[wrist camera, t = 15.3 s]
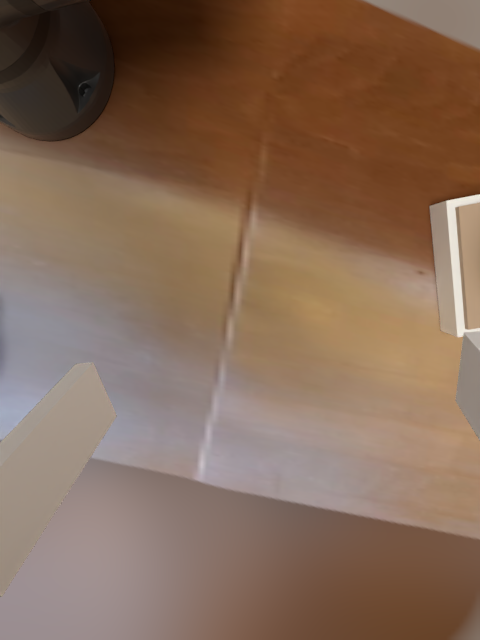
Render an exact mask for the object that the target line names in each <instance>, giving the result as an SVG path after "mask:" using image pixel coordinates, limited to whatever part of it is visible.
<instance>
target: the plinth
mask: <svg viewBox="0 0 480 640" xmlns="http://www.w3.org/2000/svg"><path fill="white" fill-rule="evenodd" d="M429 207H430V218H431V229H432V240H433V251H434V262H435V273H436V284H437V295H438V306H439V317H440V328H441V331H443V332H445V333H448V334H451V335H453V336H456V337H462V336H463V335H464V332H476V331H480V194H479V195H474V196H469V197H463V198H458V199H453V200H448V201H444V202H441V203H438V204H434V205H431V206H429Z"/></svg>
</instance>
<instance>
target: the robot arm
mask: <svg viewBox="0 0 480 640" xmlns="http://www.w3.org/2000/svg"><path fill="white" fill-rule="evenodd" d="M89 1H91V0H0V122H1V123H3V124H4V125H6V126H8V127H9V128H11V129H13V130H15V131H17V132H19V133H21V134H23V135H25V136H28V137H30V138H34V139H38V140H45V141H56V140H62V139H66V138H70V137H72V136H75V135H77V134H79V133H80V132H82V131H84V130H85V129H86V128H88V127H89V126H90V125H91V124H92V123H93V122H94V121H95V120H96V119H97V118H98V116H99V115H100V114H101V112H102V111H103V109H104V107H105V105H106V103H107V101H108V99H109V96H110V93H111V89H112V85H113V79H114V56H113V50H112V45H111V42H110V39H109V36H108V33H107V31H106V29H105V26H104V24H103V23H102V21H101V19H100V18H99V16H98V15H97V13H96V12H95V10H94V9H93V7H92V6H91V4H90V3H89ZM456 402H457V404H458V406H459V407H460V409H461V411H462V412H463V414H464V416H465V417H466V419H467V420H468V422H469V424H470V425H471V427H472V429H473V430H474V432H475V434H476V435H477V437H478V439H479V440H480V331H476V332H464V335H463V343H462V351H461V360H460V368H459V376H458V384H457V393H456ZM116 416H117V415H116V413H115V411H114V408H113V406H112V404H111V402H110V400H109V397H108V395H107V393H106V391H105V388H104V386H103V384H102V382H101V379H100V377H99V375H98V373H97V370H96V368H95V366H94V364H93V363H81V364H75V365H74V366H73V367H72V368H71V370H70V371H69V372H68V373H67V374H66V375H65V376H64V377H63V378H62V379H61V380H60V381H59V382H58V383H57V384H56V385H55V386H54V387H53V388H52V389H51V390H50V391H49V392H48V394H47V395H46V396H45V397H44V398H43V399H42V400H41V401H40V402H39V403H38V404H37V405H36V406H35V407H34V408H33V409H32V410H31V411H30V412H29V413H28V414H27V415H26V416H25V418H24V419H23V420H22V421H21V422H20V423H19V424H18V425H17V426H16V427H15V428H14V429H13V430H12V431H11V432H10V433H9V434H8V435H7V436H6V437H5V438H4V439H3V440H2V442H1V443H0V597H2V596H3V594H4V593H5V591H6V590H7V588H8V586H9V585H10V583H11V581H12V580H13V579H14V577H15V575H16V574H17V572H18V570H19V569H20V567H21V566H22V564H23V563H24V561H25V559H26V558H27V556H28V555H29V553H30V552H31V550H32V549H33V547H34V545H35V544H36V542H37V541H38V539H39V537H40V536H41V534H42V533H43V531H44V530H45V528H46V527H47V525H48V523H49V522H50V520H51V519H52V517H53V515H54V514H55V512H56V511H57V509H58V508H59V506H60V504H61V503H62V501H63V500H64V498H65V497H66V495H67V493H68V492H69V490H70V489H71V487H72V486H73V484H74V482H75V481H76V479H77V478H78V476H79V474H80V473H81V471H82V470H83V468H84V467H85V465H86V463H87V462H88V460H89V459H90V457H91V456H92V454H93V452H94V451H95V449H96V448H97V446H98V445H99V443H100V441H101V440H102V438H103V437H104V435H105V434H106V432H107V430H108V429H109V427H110V426H111V424H112V423H113V421H114V419H115V418H116Z"/></svg>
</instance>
